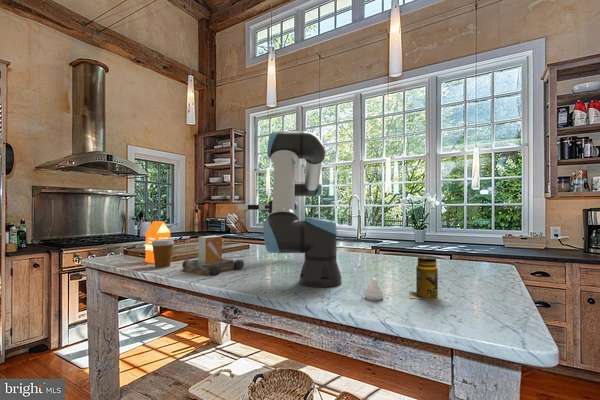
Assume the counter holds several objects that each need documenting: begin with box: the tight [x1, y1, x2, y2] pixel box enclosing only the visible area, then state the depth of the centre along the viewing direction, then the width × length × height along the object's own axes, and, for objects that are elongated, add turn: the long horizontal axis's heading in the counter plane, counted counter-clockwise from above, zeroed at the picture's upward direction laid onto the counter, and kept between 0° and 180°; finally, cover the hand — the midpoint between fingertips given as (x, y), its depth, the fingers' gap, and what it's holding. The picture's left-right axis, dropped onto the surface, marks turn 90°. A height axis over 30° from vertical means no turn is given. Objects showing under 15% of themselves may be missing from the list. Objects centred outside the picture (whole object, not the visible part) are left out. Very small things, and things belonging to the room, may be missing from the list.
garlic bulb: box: [363, 277, 384, 301], centre depth 93 cm, size 6×6×5 cm
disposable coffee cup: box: [151, 238, 175, 269], centre depth 140 cm, size 10×10×12 cm
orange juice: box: [144, 220, 171, 264], centre depth 153 cm, size 8×9×20 cm
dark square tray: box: [181, 258, 245, 277], centre depth 134 cm, size 20×19×4 cm
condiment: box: [408, 256, 441, 302], centre depth 94 cm, size 7×8×12 cm
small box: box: [197, 234, 223, 264], centre depth 133 cm, size 8×6×13 cm
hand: (248, 207), depth 141 cm, fingers open, 13 cm apart
